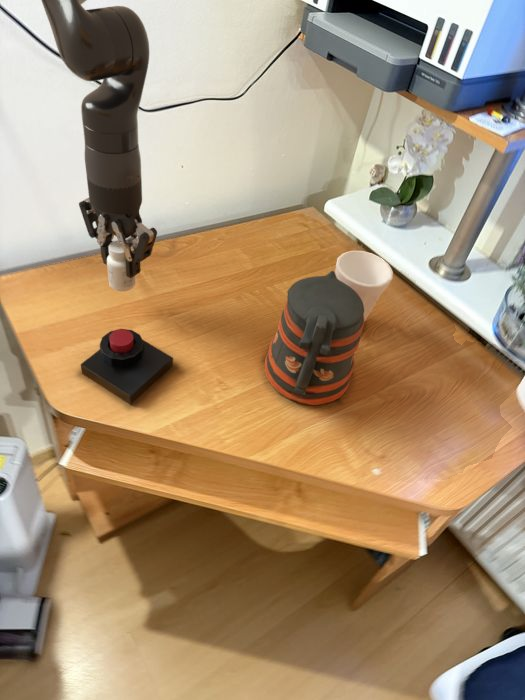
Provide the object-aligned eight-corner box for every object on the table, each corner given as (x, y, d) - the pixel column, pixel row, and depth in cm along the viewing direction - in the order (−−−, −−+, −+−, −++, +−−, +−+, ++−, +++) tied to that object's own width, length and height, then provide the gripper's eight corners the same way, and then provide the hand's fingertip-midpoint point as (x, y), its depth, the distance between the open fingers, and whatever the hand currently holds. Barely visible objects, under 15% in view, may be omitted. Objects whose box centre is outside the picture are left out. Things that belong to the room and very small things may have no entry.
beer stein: (344, 438, 79) (384, 350, 65) (251, 417, 80) (270, 324, 65) (351, 352, 92) (386, 262, 78) (271, 334, 93) (291, 241, 78)
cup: (368, 308, 102) (389, 253, 92) (374, 344, 95) (397, 289, 85) (318, 301, 101) (334, 246, 91) (321, 338, 94) (338, 282, 84)
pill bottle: (138, 278, 89) (137, 240, 84) (131, 294, 86) (129, 256, 80) (113, 273, 89) (110, 236, 83) (105, 289, 86) (101, 251, 80)
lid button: (105, 346, 80) (104, 338, 79) (121, 333, 83) (120, 326, 82) (122, 357, 79) (122, 349, 78) (138, 344, 82) (138, 336, 81)
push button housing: (80, 372, 81) (77, 355, 78) (125, 337, 87) (123, 320, 84) (130, 405, 78) (129, 388, 75) (173, 366, 84) (173, 350, 81)
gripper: (170, 182, 73) (169, 276, 86) (95, 146, 77) (104, 241, 90) (134, 202, 68) (139, 299, 81) (56, 163, 72) (72, 261, 85)
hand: (121, 268), depth 85 cm, fingers closed on pill bottle, 4 cm apart
